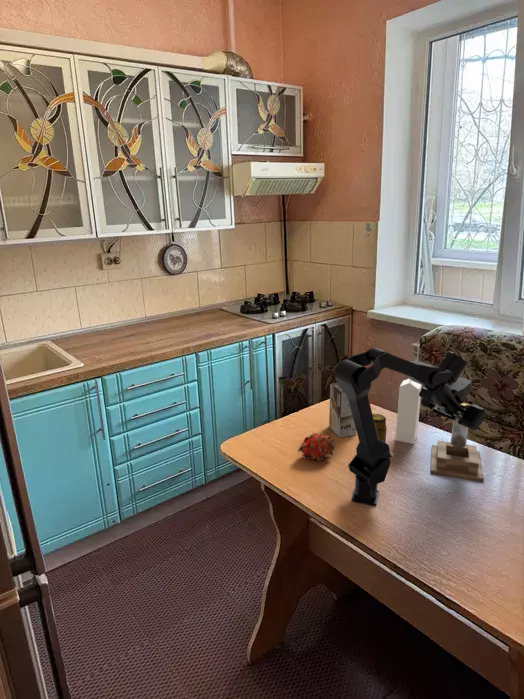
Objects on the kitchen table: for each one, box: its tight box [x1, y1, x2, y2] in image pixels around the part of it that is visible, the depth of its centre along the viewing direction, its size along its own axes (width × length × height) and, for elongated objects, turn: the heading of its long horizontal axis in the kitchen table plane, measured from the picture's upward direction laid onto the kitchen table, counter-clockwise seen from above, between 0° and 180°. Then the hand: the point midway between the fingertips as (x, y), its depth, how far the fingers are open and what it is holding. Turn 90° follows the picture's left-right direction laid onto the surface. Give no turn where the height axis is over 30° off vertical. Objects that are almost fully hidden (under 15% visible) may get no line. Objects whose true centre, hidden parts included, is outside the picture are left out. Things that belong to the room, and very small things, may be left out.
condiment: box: [372, 413, 396, 457], centre depth 151 cm, size 7×8×12 cm
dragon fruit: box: [297, 432, 336, 462], centre depth 149 cm, size 8×8×12 cm
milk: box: [395, 378, 423, 445], centre depth 158 cm, size 6×6×22 cm
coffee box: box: [328, 382, 357, 438], centre depth 165 cm, size 9×6×16 cm
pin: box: [450, 402, 471, 447], centre depth 142 cm, size 5×5×12 cm
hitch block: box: [430, 440, 485, 482], centre depth 145 cm, size 16×14×4 cm
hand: (464, 422), depth 143 cm, fingers closed on pin, 5 cm apart
